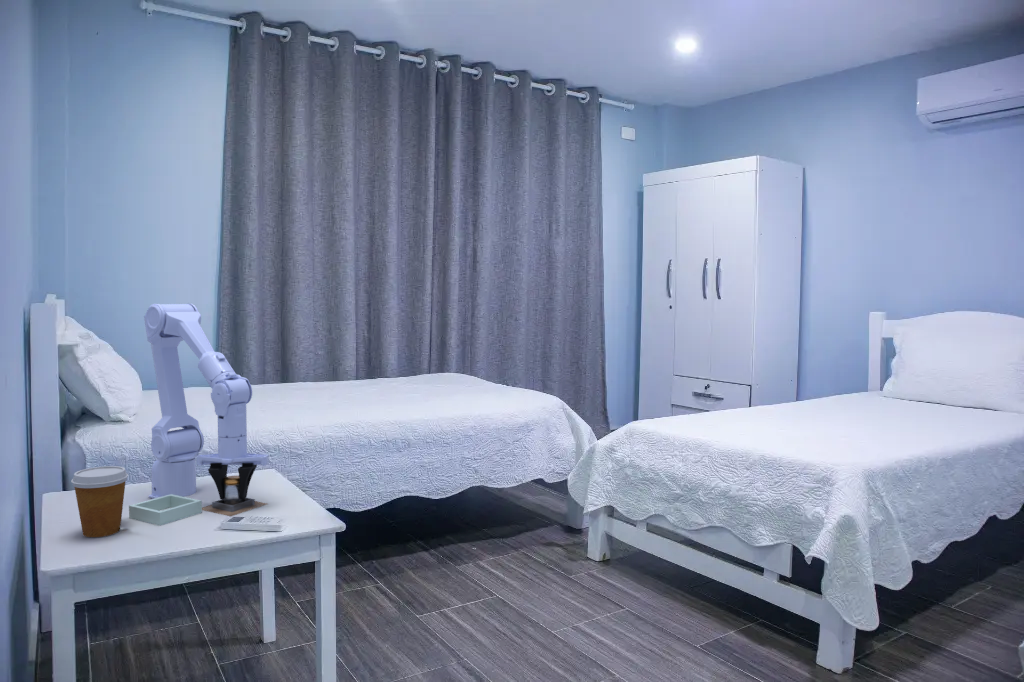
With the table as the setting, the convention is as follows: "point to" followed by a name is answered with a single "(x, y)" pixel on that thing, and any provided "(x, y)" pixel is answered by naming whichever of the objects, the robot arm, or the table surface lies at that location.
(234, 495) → the metal can
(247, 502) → the socket plate
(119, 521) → the disposable coffee cup
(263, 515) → the table surface
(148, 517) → the bin
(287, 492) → the table surface
